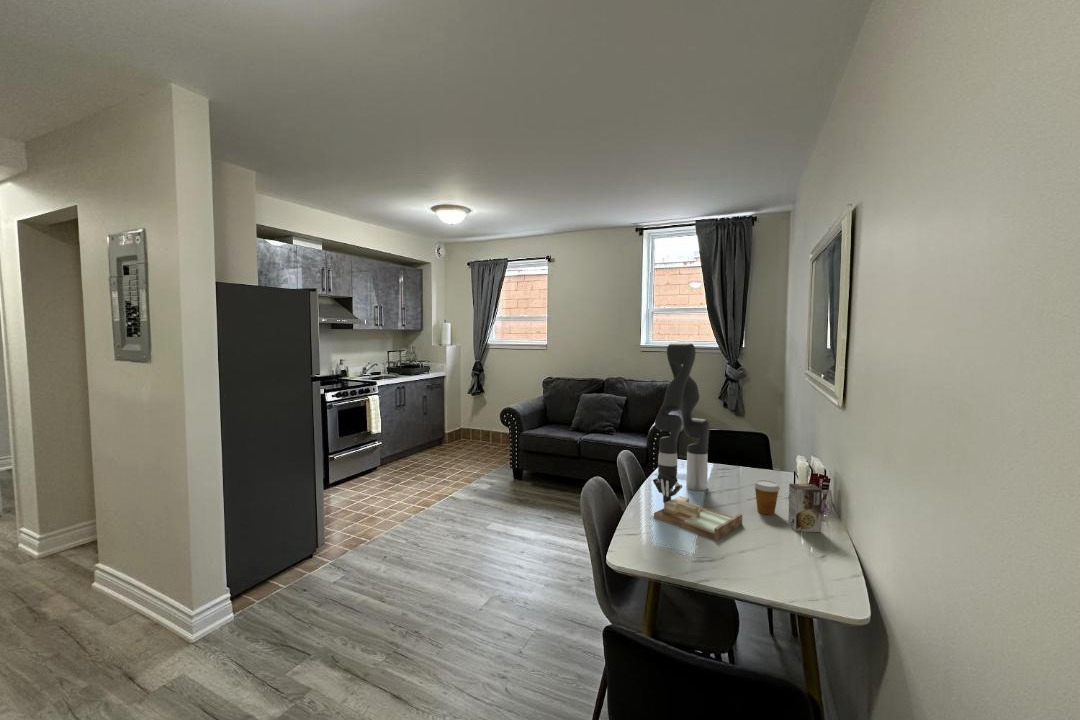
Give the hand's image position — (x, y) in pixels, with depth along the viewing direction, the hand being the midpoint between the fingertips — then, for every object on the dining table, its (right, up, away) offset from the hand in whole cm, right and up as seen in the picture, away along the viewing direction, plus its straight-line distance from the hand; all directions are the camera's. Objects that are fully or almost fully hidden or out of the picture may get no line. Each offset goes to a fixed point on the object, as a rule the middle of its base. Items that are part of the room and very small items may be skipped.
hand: (666, 504), depth 183 cm
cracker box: (+47, -4, -16) cm, 50 cm away
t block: (+5, -1, -6) cm, 8 cm away
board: (+9, -3, -10) cm, 14 cm away
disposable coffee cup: (+41, -3, 0) cm, 41 cm away
